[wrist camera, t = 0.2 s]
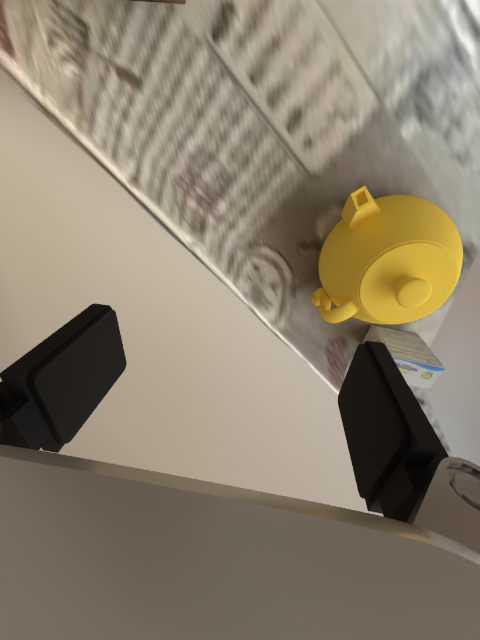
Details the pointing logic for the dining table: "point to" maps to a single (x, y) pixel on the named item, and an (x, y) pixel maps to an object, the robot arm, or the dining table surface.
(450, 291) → the teapot
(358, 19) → the dining table surface
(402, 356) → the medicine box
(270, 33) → the dining table surface
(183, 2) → the lane
